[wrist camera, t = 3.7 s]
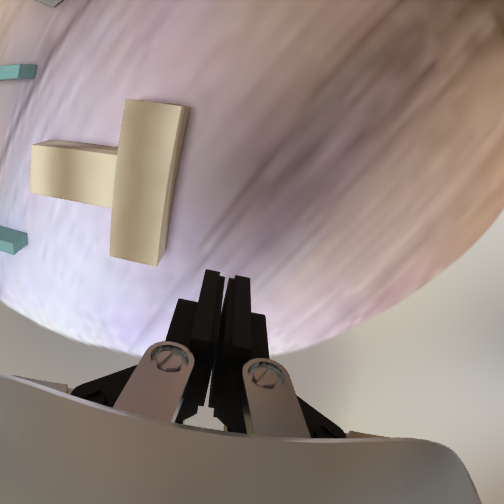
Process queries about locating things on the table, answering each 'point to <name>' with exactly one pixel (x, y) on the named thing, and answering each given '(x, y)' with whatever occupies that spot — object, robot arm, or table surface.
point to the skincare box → (49, 2)
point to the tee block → (121, 176)
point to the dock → (3, 236)
